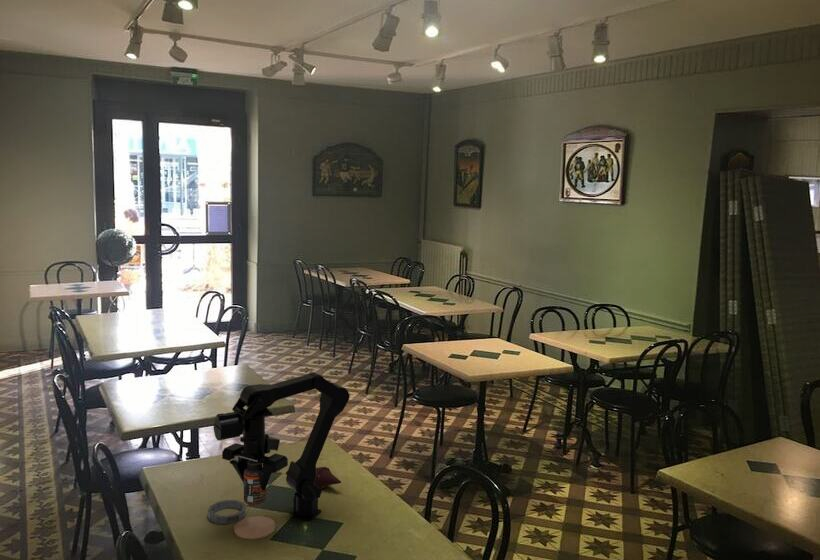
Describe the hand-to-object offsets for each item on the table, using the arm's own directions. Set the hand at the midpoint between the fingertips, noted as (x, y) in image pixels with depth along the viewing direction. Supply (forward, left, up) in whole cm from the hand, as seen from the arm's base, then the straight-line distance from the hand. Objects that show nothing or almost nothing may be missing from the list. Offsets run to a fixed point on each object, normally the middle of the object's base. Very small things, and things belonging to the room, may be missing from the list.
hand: (254, 487), depth 181 cm
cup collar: (+12, -2, -12) cm, 17 cm away
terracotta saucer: (0, 0, -12) cm, 12 cm away
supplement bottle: (0, 0, -4) cm, 4 cm away
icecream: (-1, -30, -13) cm, 33 cm away
